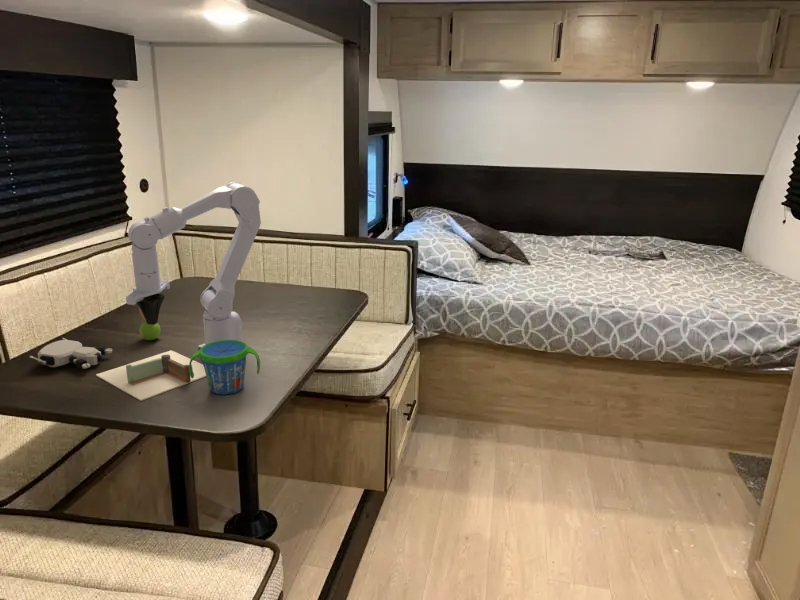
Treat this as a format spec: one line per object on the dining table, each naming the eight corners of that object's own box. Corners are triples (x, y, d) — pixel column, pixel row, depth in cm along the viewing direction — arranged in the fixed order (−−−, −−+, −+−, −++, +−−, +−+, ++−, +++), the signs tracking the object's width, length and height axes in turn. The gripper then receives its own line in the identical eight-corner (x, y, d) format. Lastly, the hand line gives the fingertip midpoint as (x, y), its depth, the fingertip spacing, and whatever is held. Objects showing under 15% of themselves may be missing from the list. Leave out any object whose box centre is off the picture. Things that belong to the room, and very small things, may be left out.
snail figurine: (150, 333, 173) (146, 293, 169) (165, 338, 170) (161, 297, 166) (133, 339, 169) (128, 298, 165) (149, 344, 166) (144, 302, 162)
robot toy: (116, 359, 158) (61, 351, 160) (115, 343, 157) (60, 335, 158) (87, 379, 147) (28, 370, 148) (86, 362, 145) (26, 353, 147)
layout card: (171, 351, 162) (171, 349, 161) (217, 372, 150) (217, 370, 150) (96, 375, 146) (95, 374, 146) (141, 401, 135) (140, 399, 135)
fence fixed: (168, 368, 150) (167, 353, 149) (193, 380, 144) (191, 365, 143) (161, 371, 149) (159, 356, 148) (185, 383, 143) (184, 367, 142)
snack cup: (186, 399, 136) (182, 357, 133) (197, 379, 146) (193, 339, 143) (257, 398, 137) (255, 356, 134) (263, 378, 147) (261, 338, 144)
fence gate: (126, 381, 142) (124, 365, 141) (160, 371, 148) (159, 355, 147) (129, 383, 142) (127, 367, 140) (163, 372, 148) (161, 357, 146)
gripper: (150, 262, 158) (155, 312, 162) (112, 277, 144) (119, 331, 148) (175, 265, 156) (179, 315, 160) (138, 280, 143) (144, 334, 147)
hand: (152, 323), depth 154 cm, fingers closed
